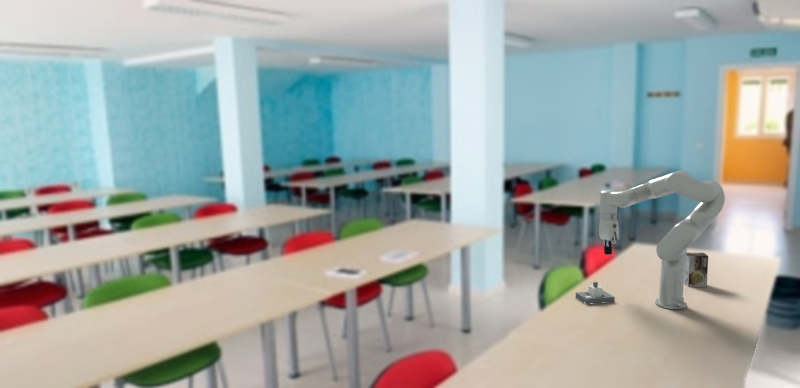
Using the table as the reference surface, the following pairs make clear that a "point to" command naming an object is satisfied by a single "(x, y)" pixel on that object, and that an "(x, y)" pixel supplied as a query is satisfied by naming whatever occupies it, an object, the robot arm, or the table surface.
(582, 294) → the socket plate
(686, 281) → the coffee box
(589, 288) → the plug
